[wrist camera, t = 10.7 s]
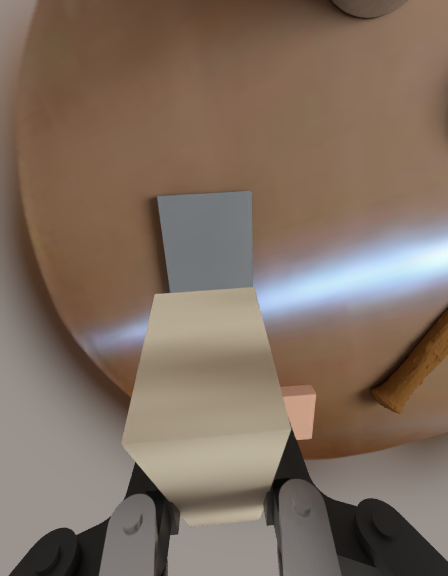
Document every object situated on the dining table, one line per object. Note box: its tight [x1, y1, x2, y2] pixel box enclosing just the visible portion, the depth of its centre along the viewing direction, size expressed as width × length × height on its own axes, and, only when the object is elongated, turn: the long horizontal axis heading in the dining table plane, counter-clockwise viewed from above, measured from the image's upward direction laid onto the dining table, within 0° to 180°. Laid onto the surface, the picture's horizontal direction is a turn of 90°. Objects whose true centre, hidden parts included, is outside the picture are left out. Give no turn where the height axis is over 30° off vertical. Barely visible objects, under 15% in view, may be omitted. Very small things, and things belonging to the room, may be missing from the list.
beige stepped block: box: [121, 287, 291, 527], centre depth 11 cm, size 15×6×4 cm, turn 4°
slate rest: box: [157, 191, 253, 293], centre depth 25 cm, size 20×8×1 cm, turn 3°
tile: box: [280, 385, 316, 440], centre depth 30 cm, size 2×8×7 cm
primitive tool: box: [371, 309, 448, 414], centre depth 27 cm, size 19×6×4 cm, turn 149°
